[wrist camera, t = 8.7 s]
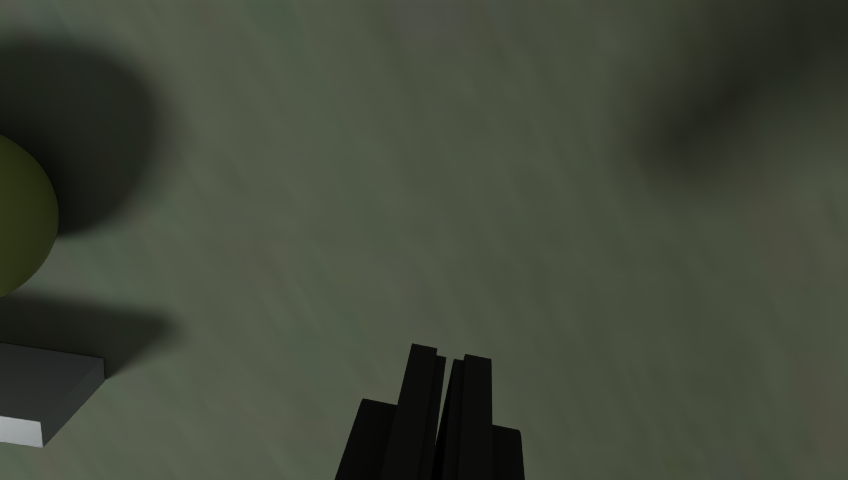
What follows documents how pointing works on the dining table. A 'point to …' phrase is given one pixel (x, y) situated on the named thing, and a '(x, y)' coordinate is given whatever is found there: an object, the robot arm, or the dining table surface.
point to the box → (42, 391)
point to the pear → (24, 216)
